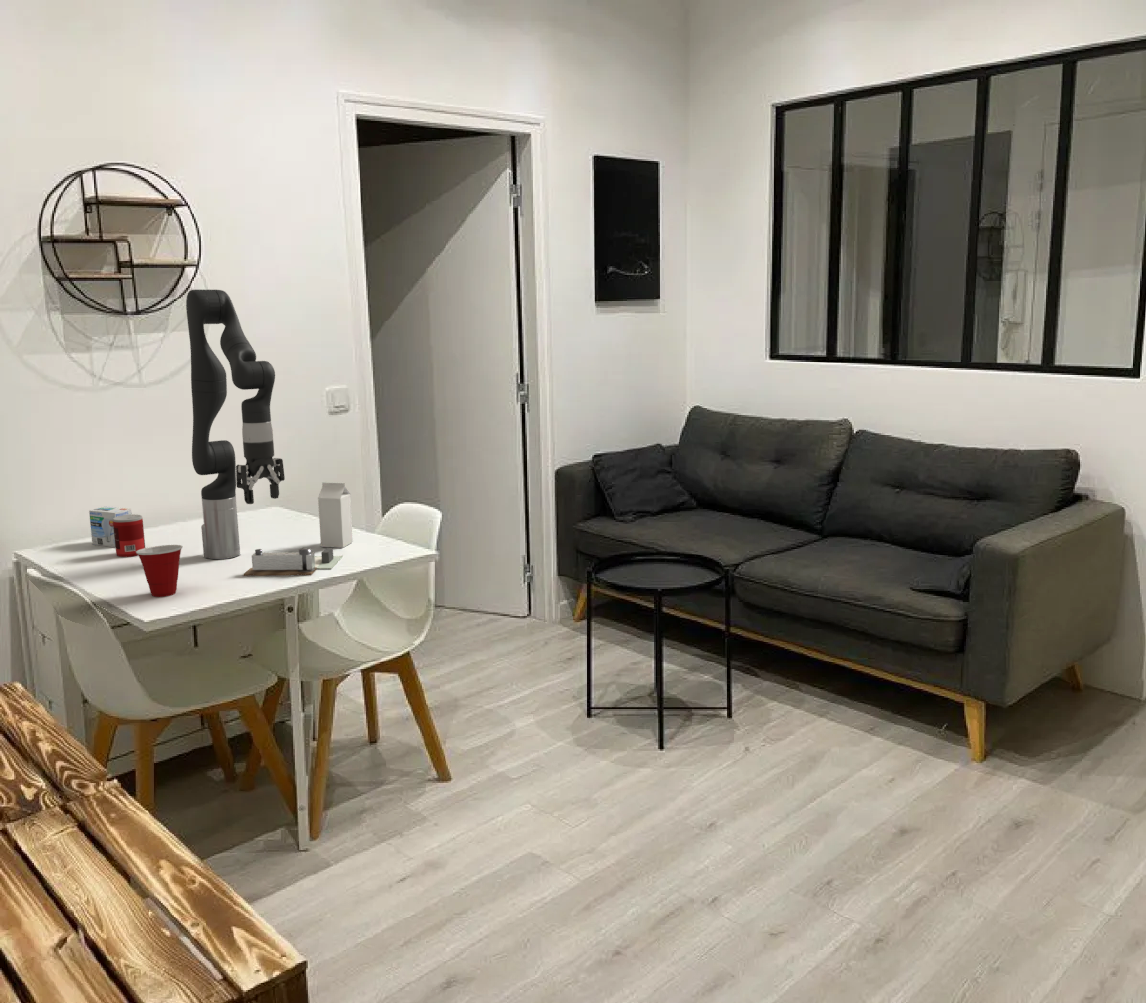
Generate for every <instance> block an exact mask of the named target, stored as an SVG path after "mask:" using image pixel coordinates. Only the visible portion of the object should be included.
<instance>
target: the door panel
mask: <svg viewBox="0 0 1146 1003" xmlns="http://www.w3.org/2000/svg"><path fill="white" fill-rule="evenodd" d="M314 556H315V555H314ZM342 558H343V556H342V555H333V560H332V561H331V562H330V563H322V555H316V556H315V567H317V570H333V569H334V567H335V566H336V565H337V564H338V563H339V562H340V561H341V559H342ZM338 561H339V562H338ZM251 568H253V567H252V566H251Z"/></svg>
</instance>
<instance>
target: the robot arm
mask: <svg viewBox="0 0 1146 1003" xmlns="http://www.w3.org/2000/svg"><path fill="white" fill-rule="evenodd" d="M185 300H186V303H185V306H186V307H185V309H186V310H185V311H186V319H187V328H188V335H189V336H188V337H189V345H190V383H191V389H190V390H191V399H192V400H191V401H192V437H191V438H192V441H191V442H192V443H191V461H192V467H193V469H194V471H195V473H196V474H197V475H199V476H208V475H217V477H216V478H215V479H214V480H213V481H211V482H210V483H208V484H207V485H204V486H203V487H202V488H201V491H200V495H201V496H200V497H201V504H202V505H201V506H202V507H201V508H202V516H203V523H202V525H201V539H202V549H203V559H211V560H224V559H225V560H227V559H231V558H234V557H239V556H240V555H241V546H240V545H241V544H240V534H239V522H238V506H237V494H236V491H237V490H236V489H237V488H238V489H241V490H243V495H244V496H243V497H244V502H245V503H246V505H252V504H255V503H254V502H255V500H254V497H255V496H254V489H253V488H254V486H255V484H256V483H257V482H258V480H261V479H264V478H266V479H267V481H269V483H270V484H269V492H270V493H269V494H270V495H269V496H270V498H271V499H279V496H280V486H279V484H280V483H281V482H284V481H285V470H284V462H283V461H284V460H283V458H279V457H275V446H274V444H275V443H274V433H273V431H274V430H273V426H272V418H271V416H272V415H271V401H272V395H273V389H274V385H275V380H276V372H275V367H274V366H273V365H272V363H270V361H267V360H266V361H265V360H257V354H256V351H255V350H254V347H252V345H251V343H250V342H249V340H248V338H247V336H246V335H245V333H244V331H243V329H242V325H241V322H240V320H239V317H238V314H237V312H236V309H235V307H234V303H233V301H232V300H231V297H230V296H229V294H228V293H227V292H226V291H224V290H222V289H191V290H189V291H188V293H187V295H186V299H185ZM219 324H222V325H224V328H223V331H222V333H221V335H220V340H219V344H220V349H221V350H222V353H223V355H224V356H225V358H226V360H227V361H228V363H229V366H230V372H231V373H230V374H231V380H232V383H233V385H234V387H236V388H237V389H239V390H242V391H243V390H245V391H246V390H257V393H256V394H255V396H252V397H250V398H249V397H248V398H246V399H244V400H243V401H241V417H242V418H241V419H242V428H241V430H242V446H243V447H242V448H243V449H242V450H243V457H244V459H245V460H246V462H245V464H236V452H235V449H234V446H233V443H231V441H229V440H222V439H221V440H214V441H210V433H211V428H212V426H213V423H214V421H215V419H216V417H217V415H218V413H219V412H220V411H221V408H222V407H223V406H224V405H225V404H224V403H225V401H226V398H227V393H228V388H227V384H228V383H227V371H226V369H225V367H224V366H223V364H222V362H221V361H220V359H219V358H218V357H217V355H216V354H215V353H214V351H213V349H212V347H211V346H210V344H209V343H208V340H207V338H206V337H207V336H206V333H205V327H204V325H219Z"/></svg>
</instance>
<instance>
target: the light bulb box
mask: <svg viewBox="0 0 1146 1003" xmlns="http://www.w3.org/2000/svg"><path fill="white" fill-rule="evenodd" d="M88 513H89V523H90V532H91V533H90V534H91V544H92V545H95V546H103V547H109V548H111V547H112V548H115V538H114V529H113V518H115V517H118V516H123V515H133V514H132V508H126V507H125V508H123V507H113V506H103V507H102V506H101V507H98V508H94V509H89V510H88Z"/></svg>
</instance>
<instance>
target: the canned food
mask: <svg viewBox="0 0 1146 1003" xmlns="http://www.w3.org/2000/svg"><path fill="white" fill-rule="evenodd" d="M143 520H144V519H143V515H141V514H132V515H123V516H118V517H115V518H113V529H114V538H115V547H114V548H115V554H116V556H117V557H118V558H131V557H139V556H138V554H137V553H136V551H138V550H140V549H144V548H146V540H145V530H144V529H145V528H144V521H143Z"/></svg>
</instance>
